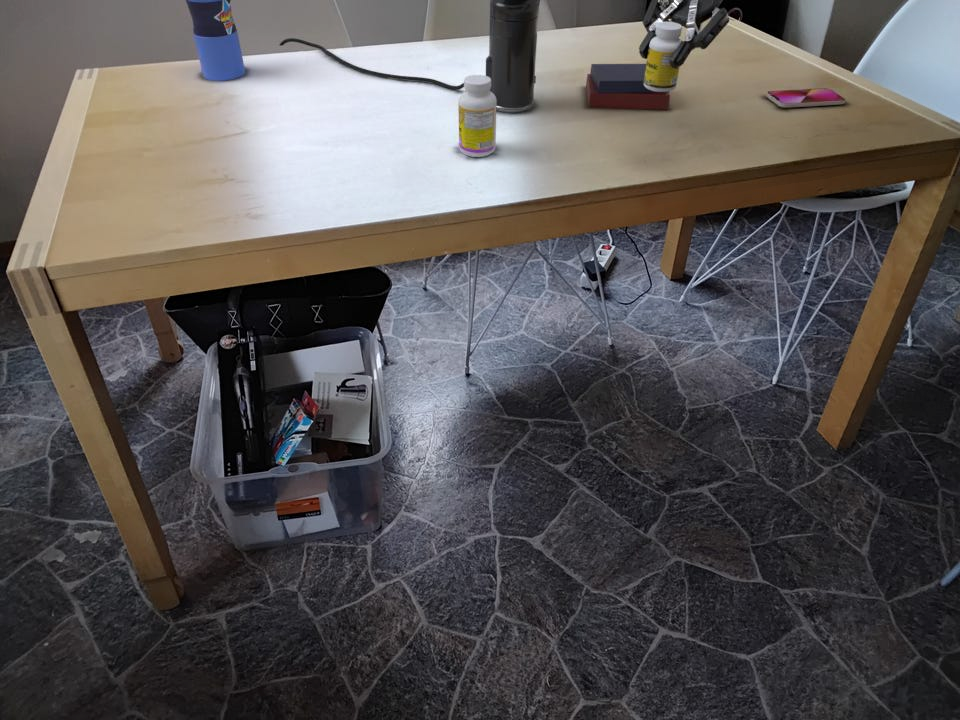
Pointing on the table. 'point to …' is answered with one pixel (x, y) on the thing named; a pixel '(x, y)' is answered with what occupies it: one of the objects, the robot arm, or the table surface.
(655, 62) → the supplement bottle
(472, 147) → the supplement bottle
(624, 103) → the book stack
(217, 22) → the water bottle
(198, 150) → the table surface
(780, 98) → the smartphone
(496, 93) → the robot arm
